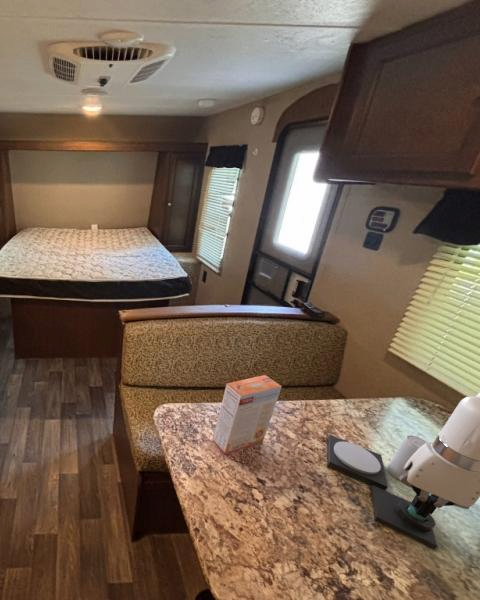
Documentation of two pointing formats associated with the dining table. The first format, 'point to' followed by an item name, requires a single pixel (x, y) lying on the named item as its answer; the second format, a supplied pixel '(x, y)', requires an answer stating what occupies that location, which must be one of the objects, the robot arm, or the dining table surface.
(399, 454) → the beverage can
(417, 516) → the button
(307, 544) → the dining table surface
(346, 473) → the scale
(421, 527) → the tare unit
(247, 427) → the cracker box
